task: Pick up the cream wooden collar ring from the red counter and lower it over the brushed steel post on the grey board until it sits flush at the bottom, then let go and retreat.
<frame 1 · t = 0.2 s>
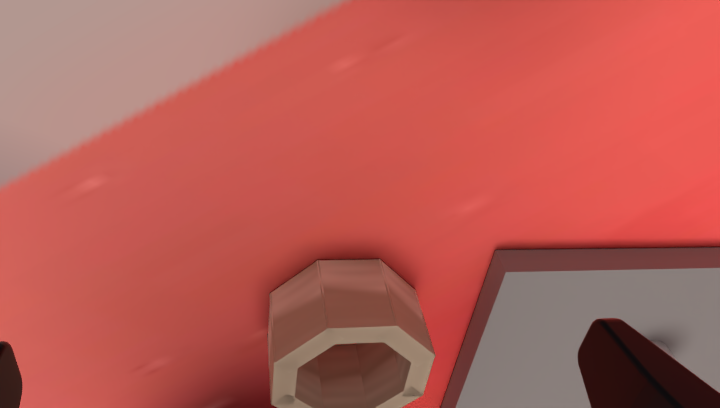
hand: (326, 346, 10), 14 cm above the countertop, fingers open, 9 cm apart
ring: (340, 312, 30), on the countertop
post board: (626, 338, 36), on the countertop
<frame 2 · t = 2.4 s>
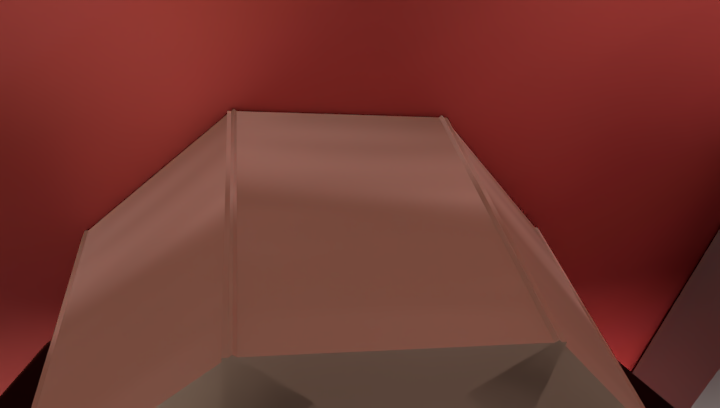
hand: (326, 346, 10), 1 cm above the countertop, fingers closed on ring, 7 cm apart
ring: (319, 297, 10), on the countertop, touching gripper
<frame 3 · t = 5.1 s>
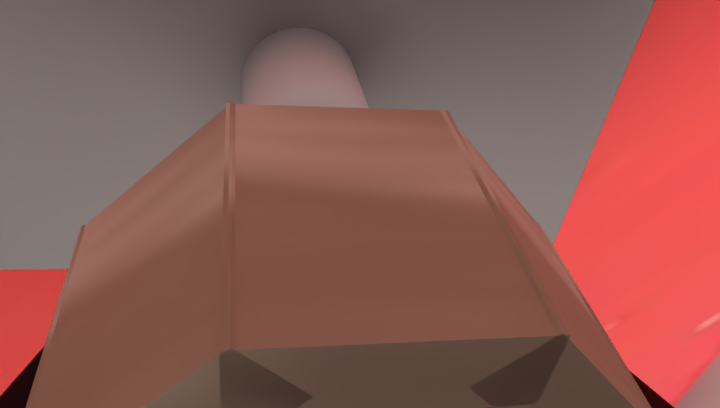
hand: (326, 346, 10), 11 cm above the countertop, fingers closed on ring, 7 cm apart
ring: (319, 293, 10), point 10 cm above the countertop, touching gripper
post board: (294, 59, 19), on the countertop
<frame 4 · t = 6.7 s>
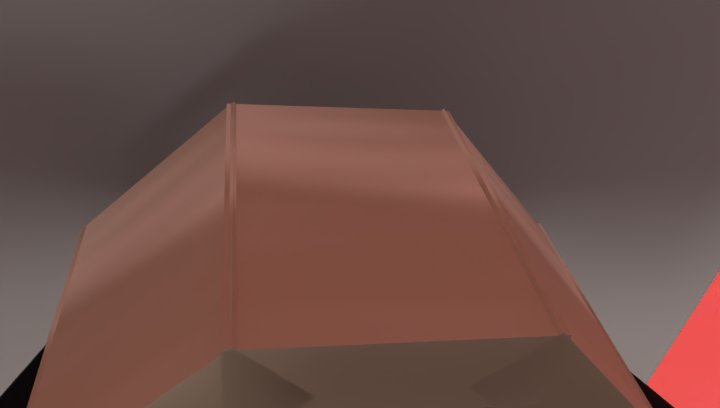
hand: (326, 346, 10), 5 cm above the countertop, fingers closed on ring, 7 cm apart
ring: (320, 293, 10), point 4 cm above the countertop, touching gripper
post board: (305, 176, 13), on the countertop
when the fingers open (4 cm above the countertop, at t = 7.9 s): ring drops 2 cm, resting on post board.
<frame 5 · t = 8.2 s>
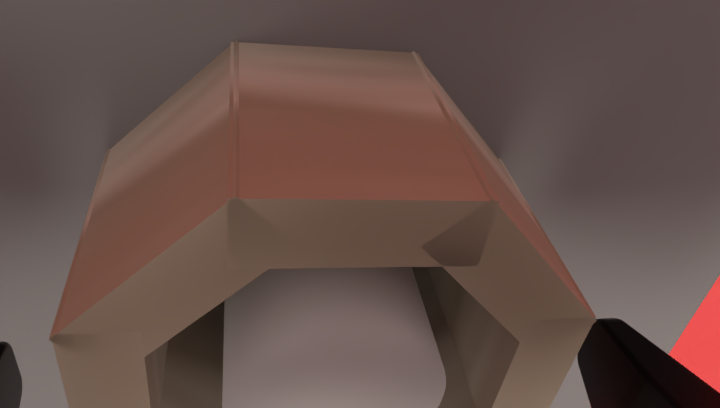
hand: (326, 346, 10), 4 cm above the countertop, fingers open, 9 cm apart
ring: (309, 219, 12), point 1 cm above the countertop, touching post board
post board: (304, 179, 13), on the countertop
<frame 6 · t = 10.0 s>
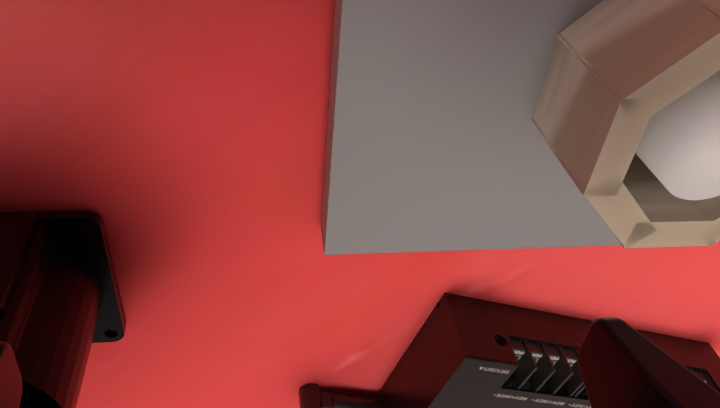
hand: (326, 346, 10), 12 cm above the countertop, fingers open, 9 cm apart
ring: (646, 81, 20), point 1 cm above the countertop, touching post board
wireless controller: (496, 370, 32), on the countertop
post board: (624, 63, 21), on the countertop
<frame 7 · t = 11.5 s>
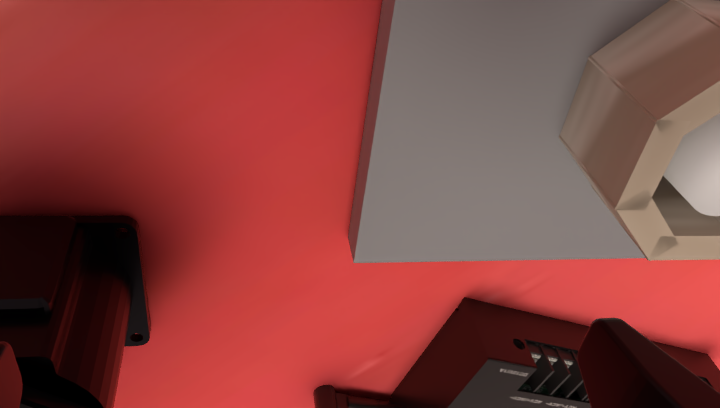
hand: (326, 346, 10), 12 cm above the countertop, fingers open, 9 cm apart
ring: (667, 103, 21), point 1 cm above the countertop, touching post board
wireless controller: (504, 376, 33), on the countertop
post board: (644, 85, 22), on the countertop
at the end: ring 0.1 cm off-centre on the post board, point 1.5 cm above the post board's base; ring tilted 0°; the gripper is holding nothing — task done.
